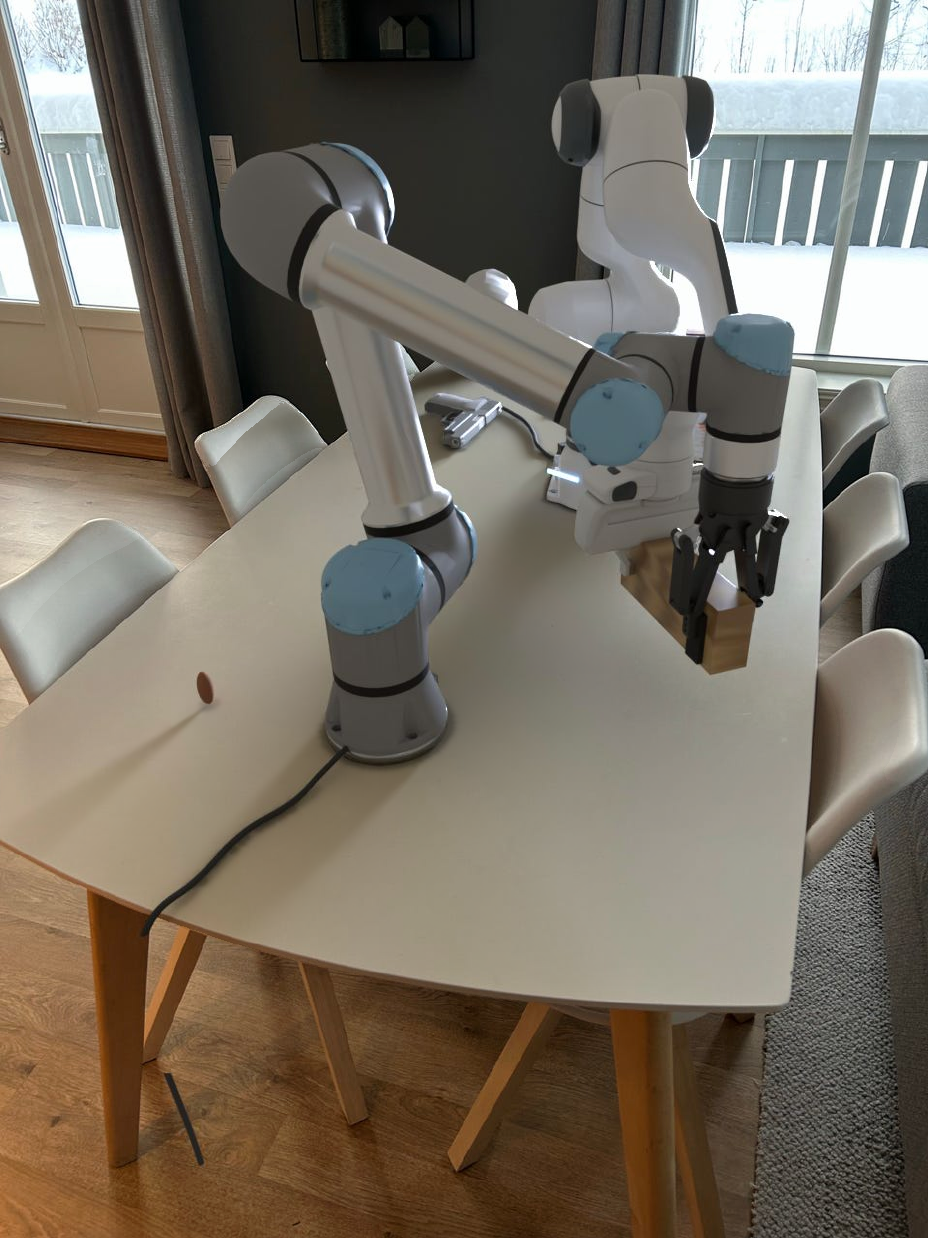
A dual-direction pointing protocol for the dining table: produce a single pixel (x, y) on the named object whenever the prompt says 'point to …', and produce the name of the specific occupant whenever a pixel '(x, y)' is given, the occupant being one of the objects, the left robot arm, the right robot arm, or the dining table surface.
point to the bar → (723, 608)
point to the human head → (494, 285)
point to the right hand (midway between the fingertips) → (648, 569)
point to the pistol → (462, 416)
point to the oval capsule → (205, 687)
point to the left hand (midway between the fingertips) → (714, 653)
